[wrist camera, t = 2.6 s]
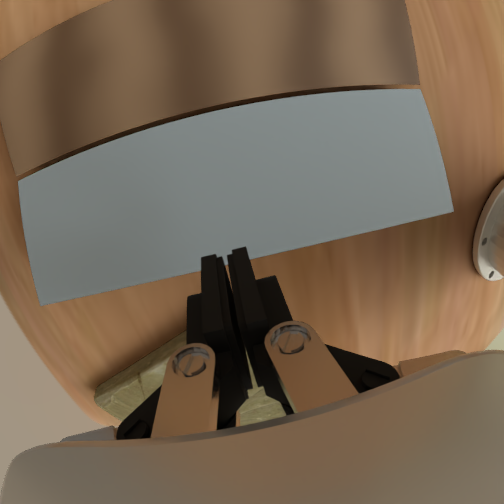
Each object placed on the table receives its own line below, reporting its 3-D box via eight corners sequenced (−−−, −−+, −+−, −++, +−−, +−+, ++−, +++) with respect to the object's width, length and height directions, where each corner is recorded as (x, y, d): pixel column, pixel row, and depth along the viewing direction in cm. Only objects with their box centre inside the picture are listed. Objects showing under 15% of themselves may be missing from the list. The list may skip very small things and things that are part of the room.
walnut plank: (380, -18, 13) (397, -26, 11) (400, 83, 17) (419, 84, 15) (9, 67, 13) (-10, 67, 11) (33, 167, 17) (16, 176, 15)
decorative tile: (95, 382, 28) (88, 408, 25) (239, 287, 24) (243, 317, 21) (209, 444, 36) (210, 465, 33) (338, 384, 32) (348, 407, 29)
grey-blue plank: (406, 99, 17) (420, 89, 15) (436, 212, 18) (453, 211, 16) (35, 184, 17) (18, 181, 15) (56, 299, 17) (40, 305, 15)
